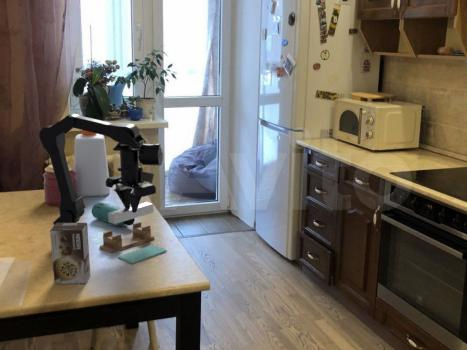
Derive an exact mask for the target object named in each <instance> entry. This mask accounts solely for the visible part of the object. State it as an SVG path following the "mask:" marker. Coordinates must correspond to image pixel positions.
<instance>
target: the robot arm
mask: <svg viewBox="0 0 467 350" xmlns="http://www.w3.org/2000/svg"><path fill="white" fill-rule="evenodd" d="M73 129H78V130H80V131H82V130H84V131H89V132H93V133H97V134H101V135H104V137H105V136H106V137H108V138H110V140H113V141H114V142H117V144H116V145H115V146H114V147H113V148H112V150H113V151H114V152H117V151H119V161H120V162H119V163H120V167H117V171H118V172H120V175H118V174H117V175H115V176H109V178H107V180H106V186H107V187H110V189H111V188H113V187H114V186H115V188H114V189H113V191H114V192H115V193H116V195H117V196H118V198H119V200H120V201H121V203H122V205H123V207H124V208H128V207H131V208H132V211H133V212H134V213H135V212H136V211H137V208H138V205H139V204H140V202H141V200H142V198H143V197H147V196H150V195H154V194H157V187H156V185H155V184H153V180H154V177H155V173H152V172H148V171H144V168H143V167H142V166H162V164H163V159H164V154H163V149H162V147H161V143H147V141H146V140H145V139H144V137H143V135H141V133H140V130H139V127H138V126H137V124H134V123H123V122H119V123H118V122H116V123H115V122H113V123H112V122H109V121H104V120H100V119H95V118H92V117H87V116H83V115H80V114H77V113H71V114H68V115H66V116H65V117H64V118H62V119H61V120H59V121H58V122H56V123H54V124H51V125H47V126H45V127H42V128H41V129H40V131H39V133H38V139H39V141H40V143H41V145H42V147H43V149H44V150H45V151H46V153H47V154H48V155H49V158H50V162H51V165H52V166H53V170H54V174H55V178H56V182H57V185H58V189H59V193H60V205H59V206H58V208H59V209H58V210H59V216H58V217H57V218H56V219H55V220H54V221H53V222H52V224H53V226H54V225H55V224H56V223H79V221H80V219H81V217H83V216H84V214H85V209H86V208H87V206H86V205H85V203H84V197H82V196H81V197H79V196H77V195H76V193H75V191H74V187H73V183H72V179H71V176H70V172H69V168H68V164H69V163H68V160H67V157H66V154H65V153H66V152H65V149H66V148H65V147H66V134H67V133H68V132H70V131H71V130H73ZM139 163H140V164H141V165H142V166H140V165H139Z"/></svg>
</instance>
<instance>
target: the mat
mask: <svg viewBox="0 0 467 350" xmlns="http://www.w3.org/2000/svg"><path fill="white" fill-rule="evenodd" d="M166 251H167V252H168V250H167V249H165V248H162V247H160V246H157V245H155V244H150V245H147V246H145V247H141V248H139V249H135V250H132V251H129V252H126V253H123V254H121V255H118V256H117V258H118V259H120V260H122V261H124V262H127V263H130V264H132V265H135V264H136V263H139V262H141V261H145V260H147V258H148V259H150V258H153V257H156V256H158V254H159V255H162V254H164V253H166ZM161 253H162V254H161ZM144 259H145V260H144Z"/></svg>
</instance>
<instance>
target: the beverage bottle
mask: <svg viewBox="0 0 467 350" xmlns="http://www.w3.org/2000/svg"><path fill="white" fill-rule="evenodd" d="M121 209H122V208H120V207H119V206H114V205H111V204H109V203H105V202H102V201H101V202H100V201H97V202H95V204H93V206H92V208H91V215H92V217H93V218H95V219H97V220H100V221H104V222H107V223H110V222H109V220H108V213H110V212H114V211H117V210H121ZM135 220H136V218H133V219H130V220H127V221H123V222H120V223H117V224H115V226H118V227H123V226H133V224H134V223H135Z"/></svg>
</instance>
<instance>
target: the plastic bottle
mask: <svg viewBox="0 0 467 350" xmlns="http://www.w3.org/2000/svg"><path fill="white" fill-rule="evenodd" d="M73 147H74V148H73V149H74V155H73V167H74V169H73V171H74V172H76V175H75V180H76V181H77V182H76V187H77V196H78V197H81V196H82V197H83V198H85V197H90V198H91V197H103V196H107V195H109V193H110V191H111V188H110V187H107V186H106V180H107V178H109V177H110V176H109V175H110V173H109V168H108V167H109V166H108V158H107V157H108V156H107V149H106V148H107V147H106V139H105V135H101V134H97V133H93V132H89V131H84V130H81V133H79V134H76V136H75V138H74V146H73Z"/></svg>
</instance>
